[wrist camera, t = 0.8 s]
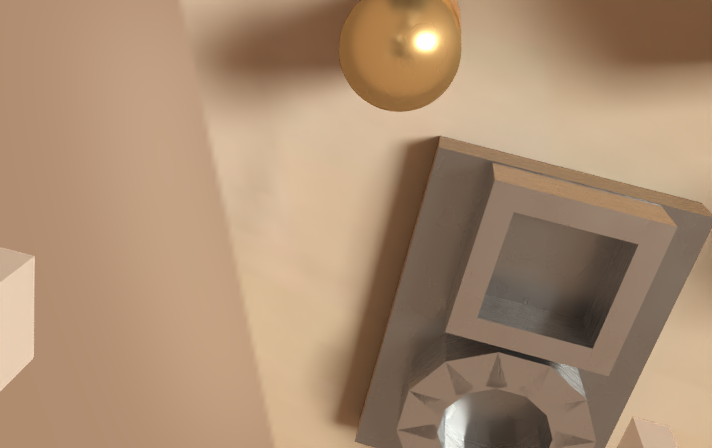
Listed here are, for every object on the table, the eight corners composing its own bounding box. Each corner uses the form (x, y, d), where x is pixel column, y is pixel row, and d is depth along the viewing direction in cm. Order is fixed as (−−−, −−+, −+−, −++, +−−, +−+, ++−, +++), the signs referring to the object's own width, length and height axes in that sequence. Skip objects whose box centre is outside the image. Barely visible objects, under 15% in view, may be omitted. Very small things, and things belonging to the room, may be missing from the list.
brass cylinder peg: (384, -35, 30) (353, -28, 21) (470, -14, 30) (476, 3, 21) (365, 53, 32) (327, 95, 23) (446, 73, 32) (442, 124, 23)
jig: (440, 136, 33) (437, 163, 29) (701, 203, 32) (737, 241, 28) (359, 419, 40) (348, 474, 36) (572, 478, 40) (585, 541, 35)
